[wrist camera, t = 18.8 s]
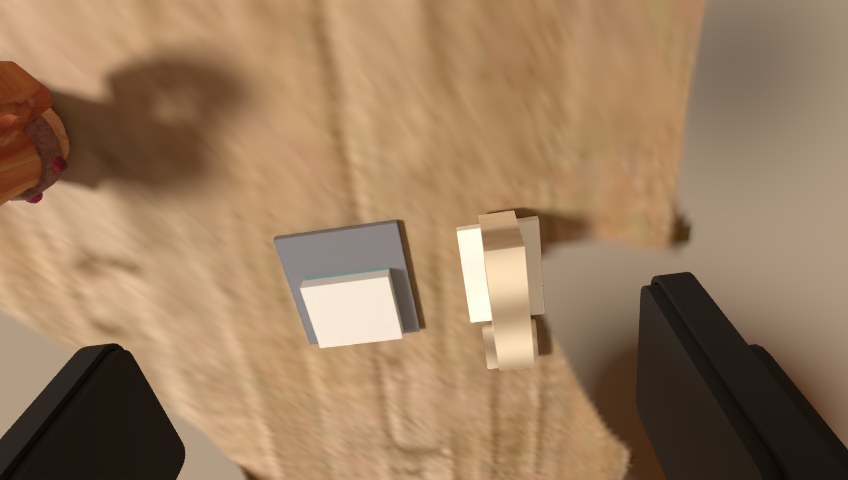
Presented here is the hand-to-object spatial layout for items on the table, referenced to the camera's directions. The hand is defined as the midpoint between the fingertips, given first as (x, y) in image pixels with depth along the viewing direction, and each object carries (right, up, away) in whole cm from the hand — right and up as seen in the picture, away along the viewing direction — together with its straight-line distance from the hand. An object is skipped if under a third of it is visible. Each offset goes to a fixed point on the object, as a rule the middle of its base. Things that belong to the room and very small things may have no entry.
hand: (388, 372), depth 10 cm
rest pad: (+8, 0, +38) cm, 39 cm away
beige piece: (+8, -2, +39) cm, 39 cm away
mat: (-6, -2, +39) cm, 40 cm away
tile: (-6, -1, +37) cm, 38 cm away
